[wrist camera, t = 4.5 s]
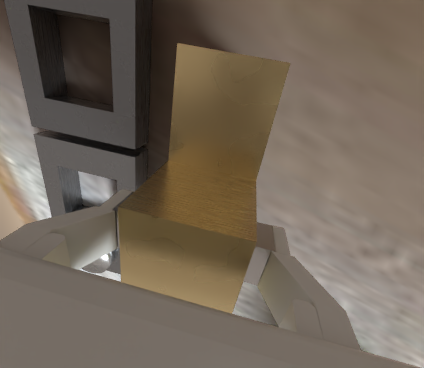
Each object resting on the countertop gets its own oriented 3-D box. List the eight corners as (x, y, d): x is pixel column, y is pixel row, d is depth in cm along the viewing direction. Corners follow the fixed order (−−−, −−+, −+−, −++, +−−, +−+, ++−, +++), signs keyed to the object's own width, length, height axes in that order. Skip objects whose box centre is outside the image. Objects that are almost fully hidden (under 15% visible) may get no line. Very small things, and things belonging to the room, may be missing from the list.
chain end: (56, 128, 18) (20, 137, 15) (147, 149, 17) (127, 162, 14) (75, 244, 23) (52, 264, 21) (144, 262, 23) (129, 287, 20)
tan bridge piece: (210, 59, 13) (108, 10, 4) (274, 71, 13) (325, 46, 4) (187, 223, 19) (124, 357, 10) (230, 234, 19) (207, 383, 10)
